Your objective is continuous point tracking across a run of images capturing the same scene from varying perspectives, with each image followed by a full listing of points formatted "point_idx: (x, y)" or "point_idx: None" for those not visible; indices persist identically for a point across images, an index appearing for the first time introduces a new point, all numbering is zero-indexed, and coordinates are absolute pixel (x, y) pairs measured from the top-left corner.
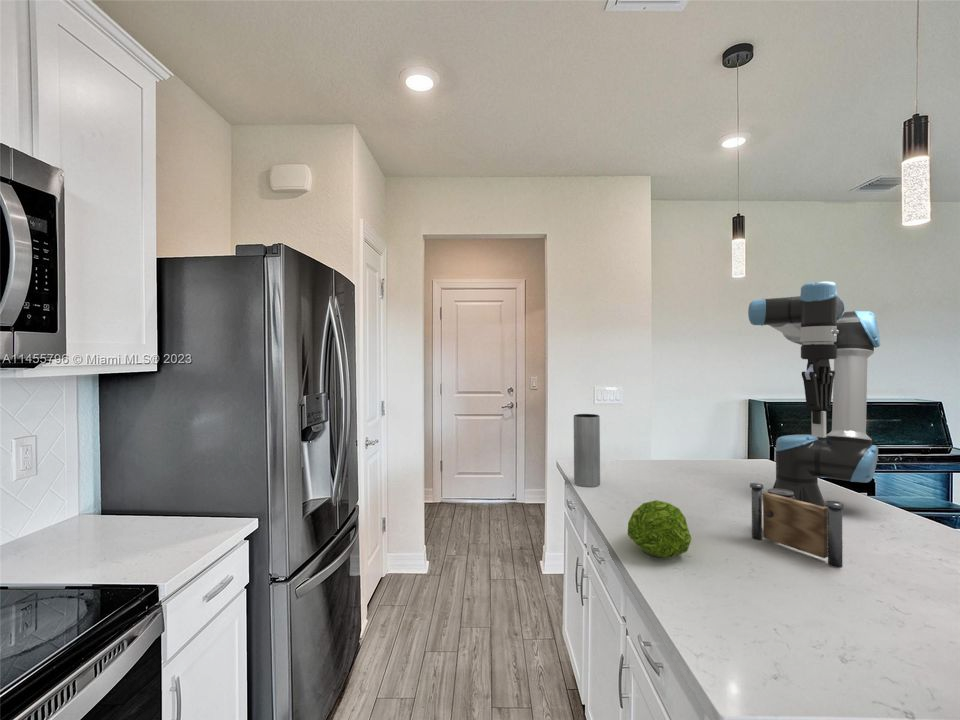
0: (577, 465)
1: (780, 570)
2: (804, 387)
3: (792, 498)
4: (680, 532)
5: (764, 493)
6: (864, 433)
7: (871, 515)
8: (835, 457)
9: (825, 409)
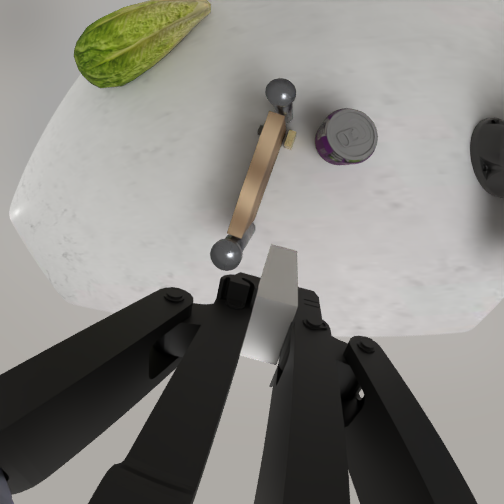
0: None
1: (176, 176)
2: (21, 364)
3: (342, 159)
4: (93, 81)
5: (271, 113)
6: None
7: (496, 254)
8: None
9: (276, 369)
